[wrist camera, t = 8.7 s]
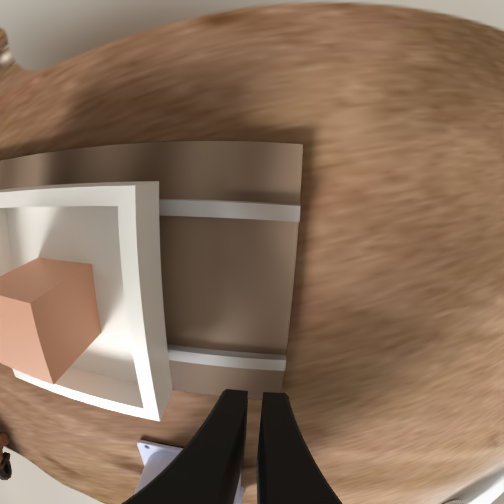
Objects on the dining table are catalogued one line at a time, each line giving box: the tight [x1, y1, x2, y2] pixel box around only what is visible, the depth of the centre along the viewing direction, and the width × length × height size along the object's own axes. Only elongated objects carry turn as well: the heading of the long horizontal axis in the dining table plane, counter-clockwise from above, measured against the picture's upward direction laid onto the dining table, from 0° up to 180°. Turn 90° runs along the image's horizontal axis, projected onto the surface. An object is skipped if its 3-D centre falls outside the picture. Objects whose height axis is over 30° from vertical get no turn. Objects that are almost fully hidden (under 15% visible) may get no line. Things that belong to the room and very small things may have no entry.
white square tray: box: [0, 181, 173, 421], centre depth 15 cm, size 11×12×4 cm
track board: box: [0, 141, 303, 400], centre depth 18 cm, size 30×16×3 cm, turn 88°
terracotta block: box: [0, 258, 101, 385], centre depth 13 cm, size 4×4×5 cm
